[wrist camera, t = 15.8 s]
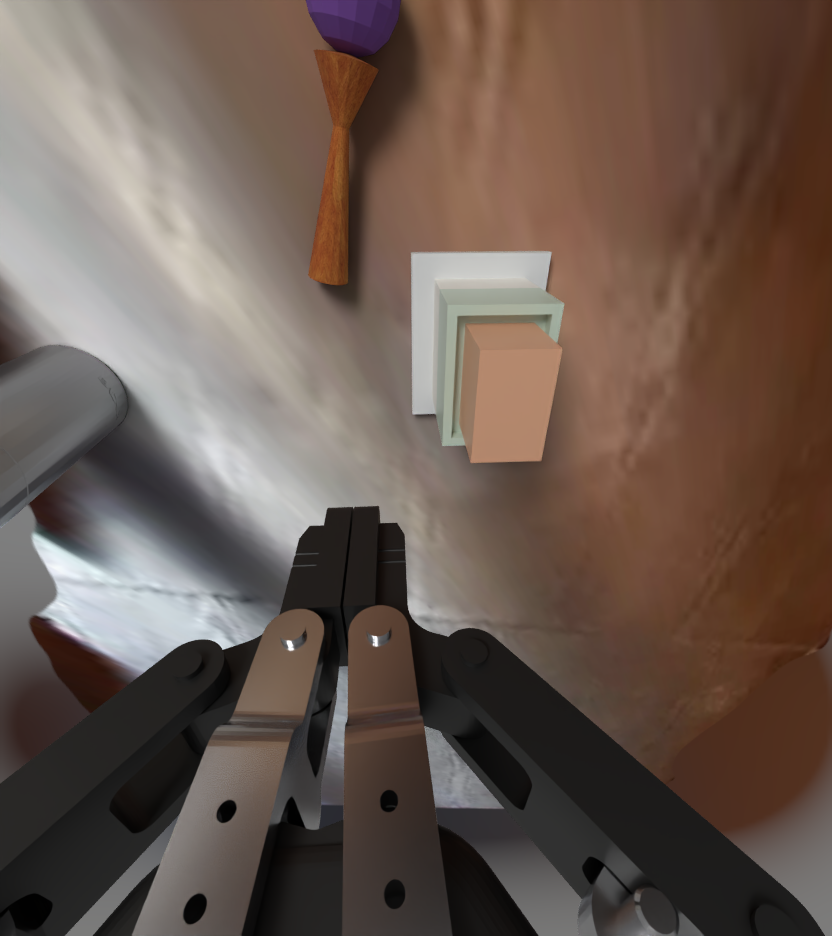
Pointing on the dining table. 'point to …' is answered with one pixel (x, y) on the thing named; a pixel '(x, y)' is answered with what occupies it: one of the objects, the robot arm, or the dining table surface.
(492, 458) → the brick
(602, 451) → the dining table surface
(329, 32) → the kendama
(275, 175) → the dining table surface
